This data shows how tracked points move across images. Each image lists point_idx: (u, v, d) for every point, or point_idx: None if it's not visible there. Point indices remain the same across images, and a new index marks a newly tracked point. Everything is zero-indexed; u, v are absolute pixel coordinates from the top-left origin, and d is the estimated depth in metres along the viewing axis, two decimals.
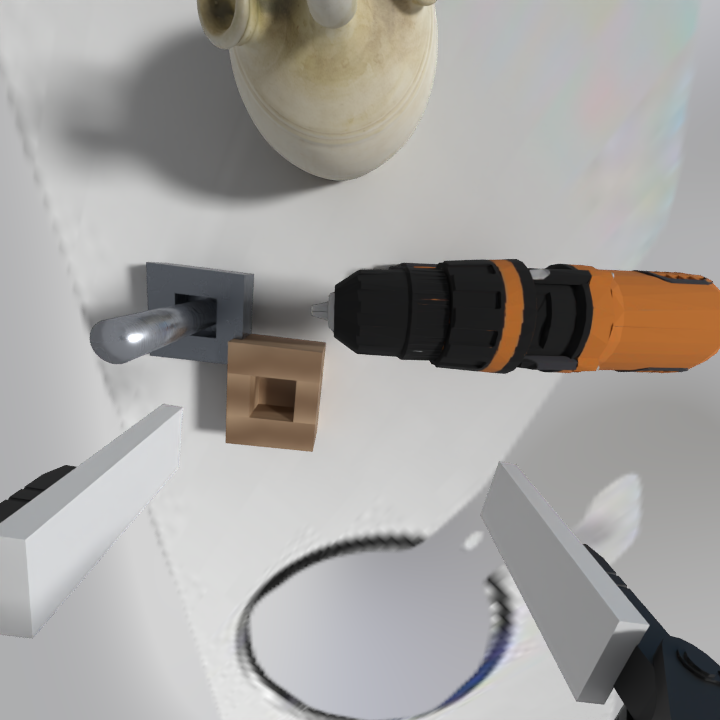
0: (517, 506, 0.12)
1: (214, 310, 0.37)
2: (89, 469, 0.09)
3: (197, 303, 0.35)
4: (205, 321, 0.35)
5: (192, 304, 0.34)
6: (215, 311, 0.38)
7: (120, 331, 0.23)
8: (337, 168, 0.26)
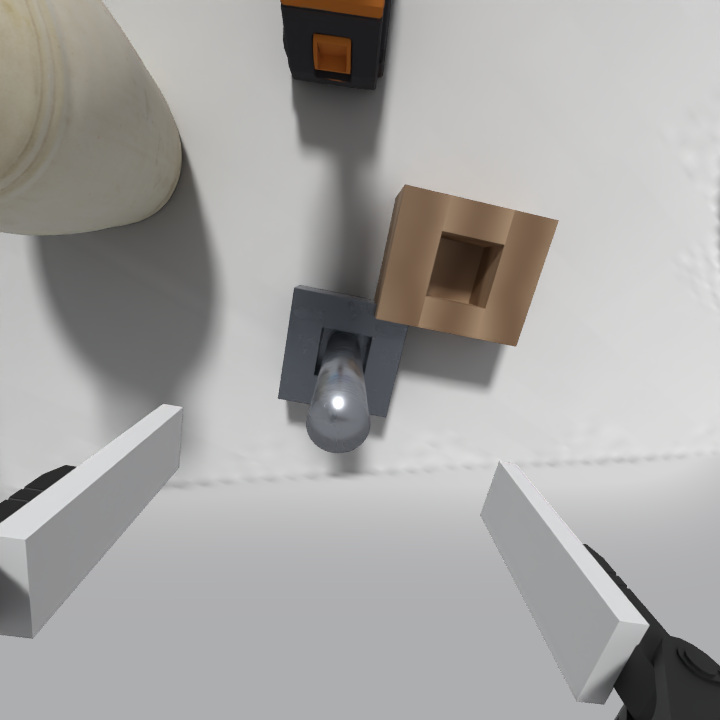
0: (517, 506, 0.12)
1: (339, 335, 0.30)
2: (89, 469, 0.09)
3: (326, 349, 0.28)
4: (347, 343, 0.28)
5: (325, 353, 0.27)
6: (340, 335, 0.30)
7: (323, 412, 0.17)
8: (118, 87, 0.18)
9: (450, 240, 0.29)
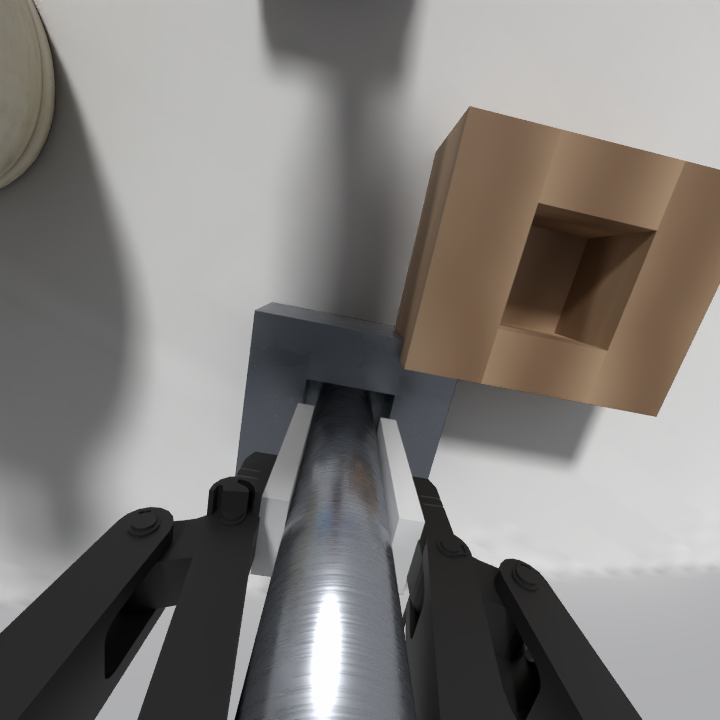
0: (381, 451, 0.14)
1: (336, 389, 0.18)
2: (289, 453, 0.11)
3: (313, 419, 0.16)
4: (351, 411, 0.15)
5: (310, 431, 0.15)
6: (339, 387, 0.18)
7: None
8: None
9: (530, 226, 0.17)
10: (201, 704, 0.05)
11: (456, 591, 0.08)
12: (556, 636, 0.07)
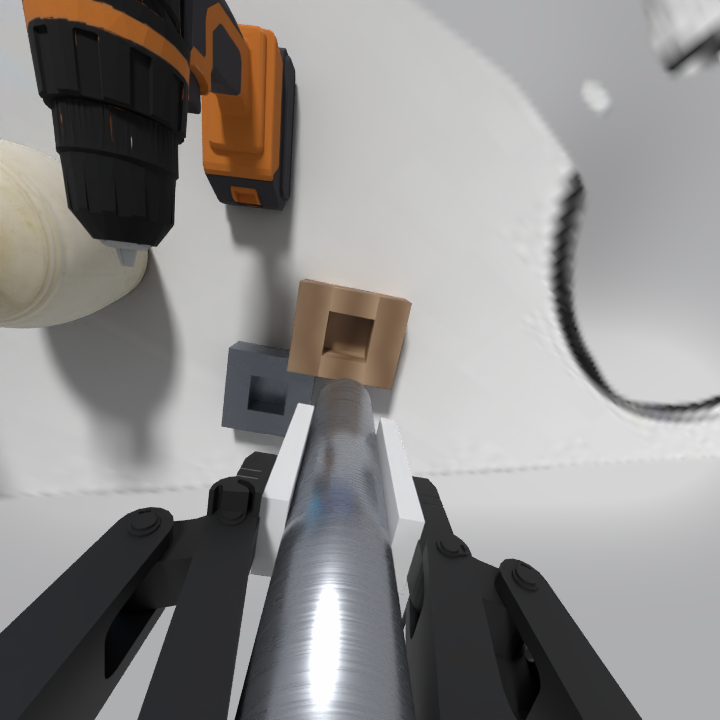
0: (381, 451, 0.14)
1: (336, 389, 0.18)
2: (289, 453, 0.11)
3: (313, 419, 0.16)
4: (351, 411, 0.15)
5: (310, 431, 0.15)
6: (339, 387, 0.18)
7: None
8: (95, 244, 0.28)
9: None
10: (200, 704, 0.05)
11: (456, 591, 0.08)
12: (556, 636, 0.07)
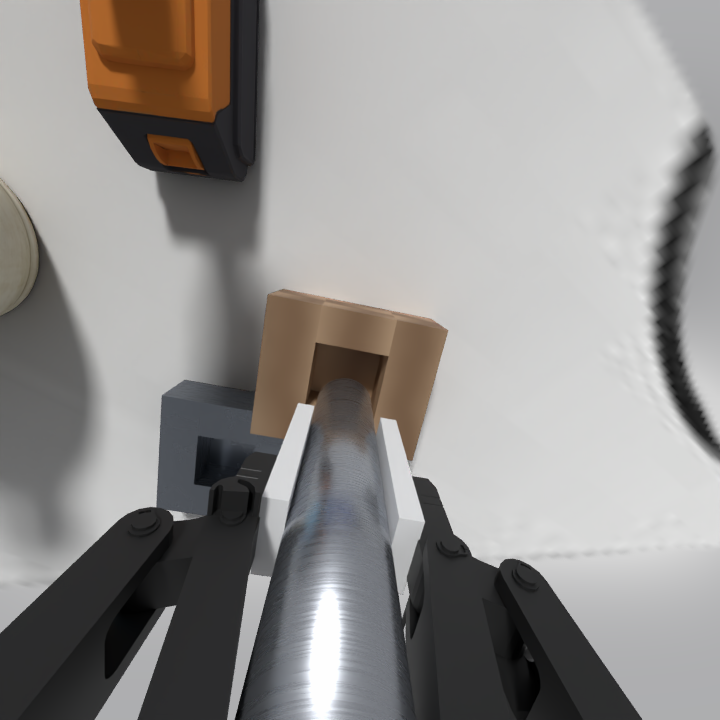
0: (380, 451, 0.14)
1: (336, 389, 0.18)
2: (289, 453, 0.11)
3: (313, 419, 0.16)
4: (351, 411, 0.15)
5: (310, 431, 0.15)
6: (339, 387, 0.18)
7: None
8: None
9: None
10: (201, 704, 0.05)
11: (456, 591, 0.08)
12: (556, 636, 0.07)
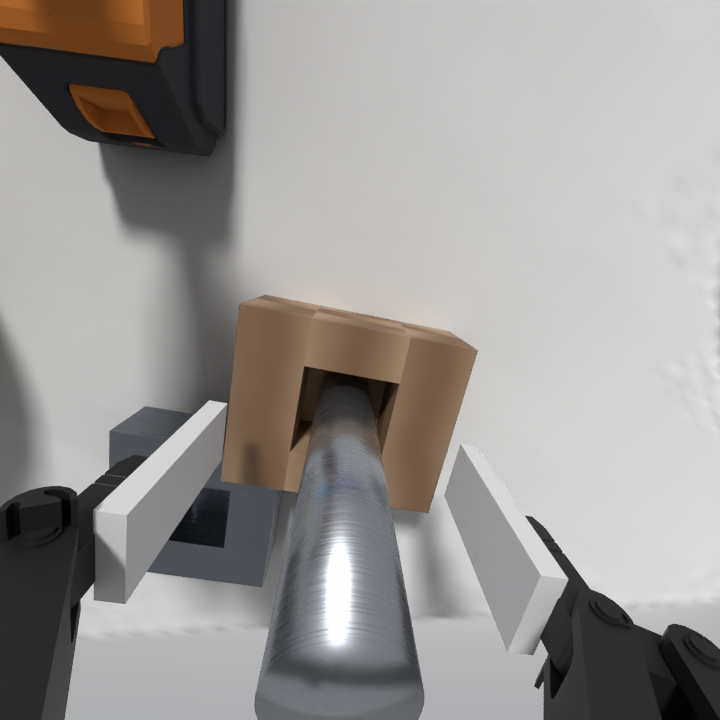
0: (471, 484, 0.13)
1: (338, 377, 0.20)
2: (162, 457, 0.10)
3: (318, 404, 0.18)
4: (353, 396, 0.17)
5: (316, 413, 0.17)
6: (340, 376, 0.20)
7: (300, 681, 0.06)
8: None
9: None
10: None
11: (616, 662, 0.07)
12: None
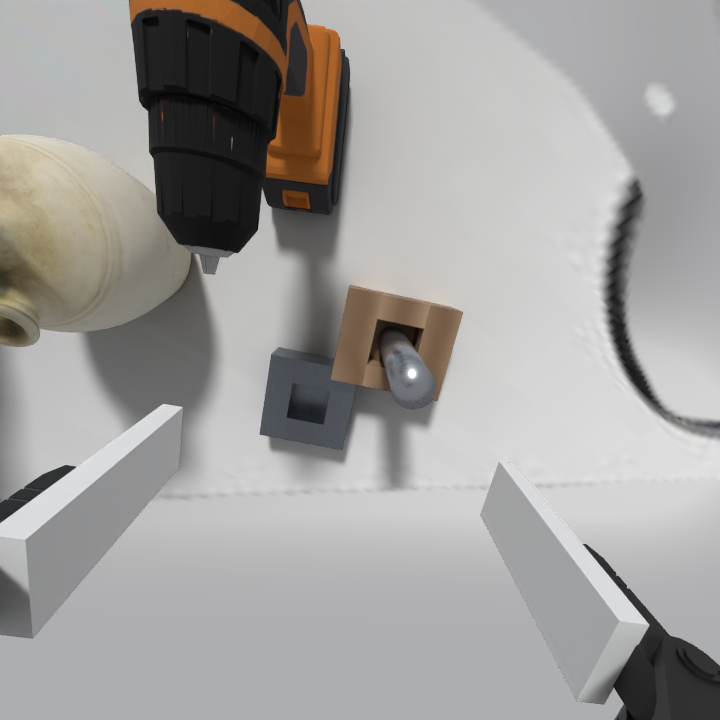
0: (517, 506, 0.12)
1: (390, 328, 0.37)
2: (89, 469, 0.09)
3: (382, 339, 0.35)
4: (401, 334, 0.35)
5: (383, 342, 0.34)
6: (391, 328, 0.37)
7: (404, 379, 0.24)
8: (150, 248, 0.27)
9: None
10: None
11: None
12: None
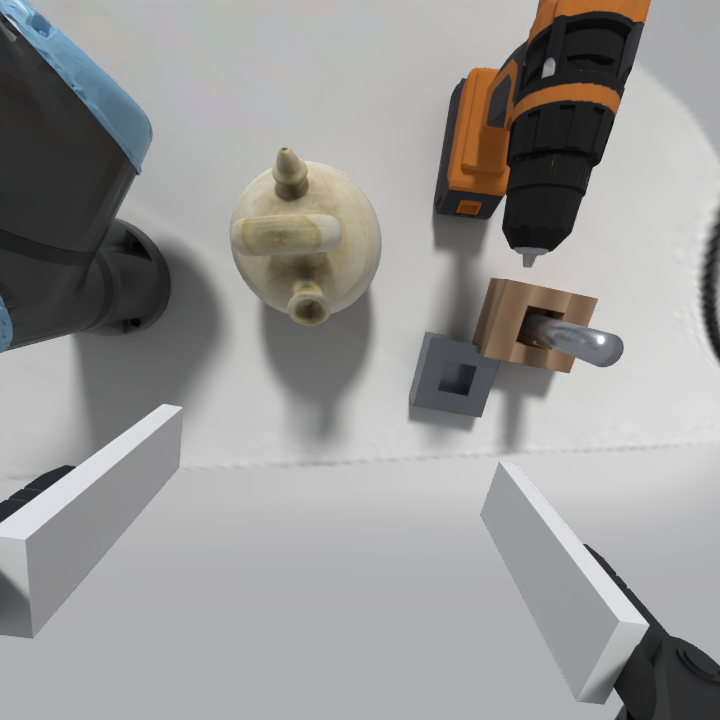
0: (517, 506, 0.12)
1: (529, 313, 0.45)
2: (89, 469, 0.09)
3: (528, 322, 0.43)
4: None
5: (532, 323, 0.42)
6: (529, 313, 0.45)
7: (600, 343, 0.31)
8: (380, 248, 0.34)
9: None
10: None
11: None
12: None
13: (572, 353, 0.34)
